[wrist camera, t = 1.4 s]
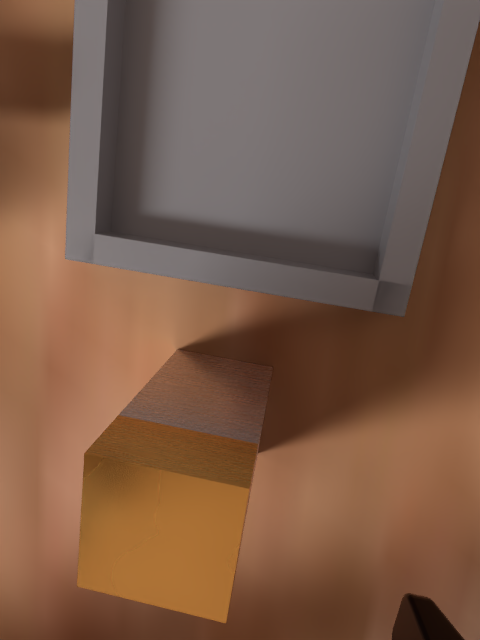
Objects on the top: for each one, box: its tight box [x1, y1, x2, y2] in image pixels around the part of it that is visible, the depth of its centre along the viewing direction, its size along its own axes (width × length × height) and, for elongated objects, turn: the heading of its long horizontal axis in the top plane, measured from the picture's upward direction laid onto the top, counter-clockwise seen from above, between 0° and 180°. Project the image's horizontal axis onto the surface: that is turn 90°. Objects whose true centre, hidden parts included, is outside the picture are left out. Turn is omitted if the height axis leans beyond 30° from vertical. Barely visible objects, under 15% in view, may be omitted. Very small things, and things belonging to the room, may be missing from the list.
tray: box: [65, 0, 480, 317], centre depth 11 cm, size 11×9×1 cm
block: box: [77, 349, 273, 623], centre depth 11 cm, size 3×3×6 cm
